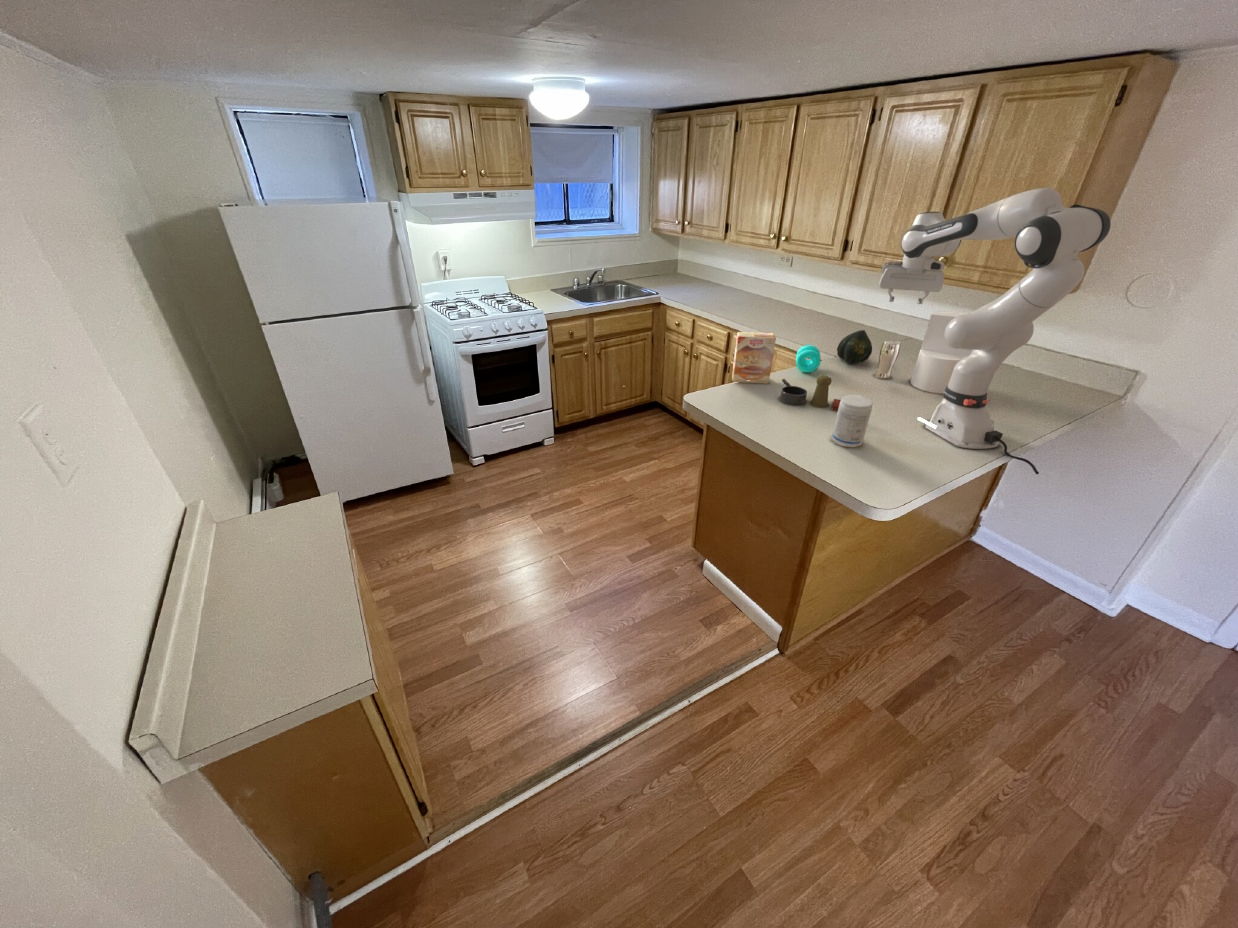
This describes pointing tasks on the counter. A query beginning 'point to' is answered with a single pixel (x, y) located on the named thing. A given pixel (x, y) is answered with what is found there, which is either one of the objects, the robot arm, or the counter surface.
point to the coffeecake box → (753, 357)
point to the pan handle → (785, 382)
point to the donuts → (808, 352)
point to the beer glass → (887, 358)
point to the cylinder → (937, 355)
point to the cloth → (836, 404)
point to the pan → (793, 395)
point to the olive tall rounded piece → (821, 391)
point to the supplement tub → (852, 420)
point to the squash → (855, 347)
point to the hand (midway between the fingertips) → (905, 302)
